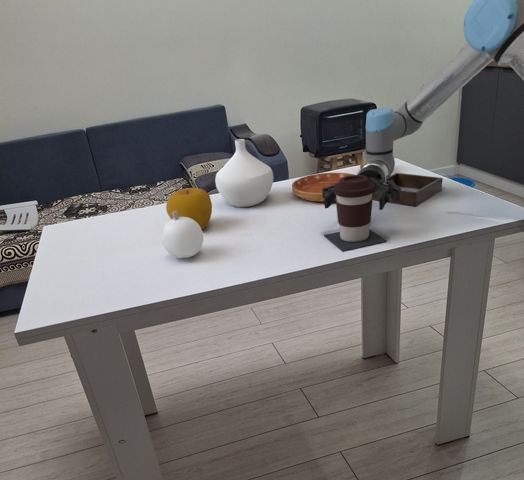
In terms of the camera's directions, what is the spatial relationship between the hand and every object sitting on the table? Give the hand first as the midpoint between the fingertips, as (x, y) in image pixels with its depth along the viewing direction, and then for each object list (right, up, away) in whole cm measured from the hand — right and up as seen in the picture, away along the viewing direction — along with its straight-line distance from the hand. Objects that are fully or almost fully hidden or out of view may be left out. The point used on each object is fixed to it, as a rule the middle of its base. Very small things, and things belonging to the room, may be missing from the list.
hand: (353, 203), depth 131 cm
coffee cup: (+2, -7, +7) cm, 10 cm away
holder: (+21, +11, +32) cm, 40 cm away
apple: (-42, 0, +26) cm, 50 cm away
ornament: (-42, -12, +9) cm, 44 cm away
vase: (-27, +12, +42) cm, 51 cm away
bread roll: (+17, +26, +55) cm, 63 cm away
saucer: (-1, +14, +41) cm, 43 cm away
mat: (+2, -7, +7) cm, 10 cm away
